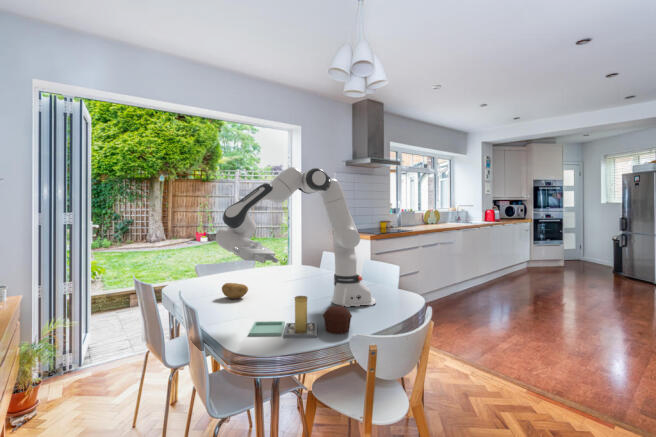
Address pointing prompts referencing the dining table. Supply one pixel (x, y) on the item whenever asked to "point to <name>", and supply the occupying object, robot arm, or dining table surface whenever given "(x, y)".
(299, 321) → the tan capped cylinder
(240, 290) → the potato
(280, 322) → the green tray
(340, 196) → the robot arm
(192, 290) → the dining table surface
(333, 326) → the muffin
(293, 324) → the gravel tray
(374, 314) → the dining table surface
